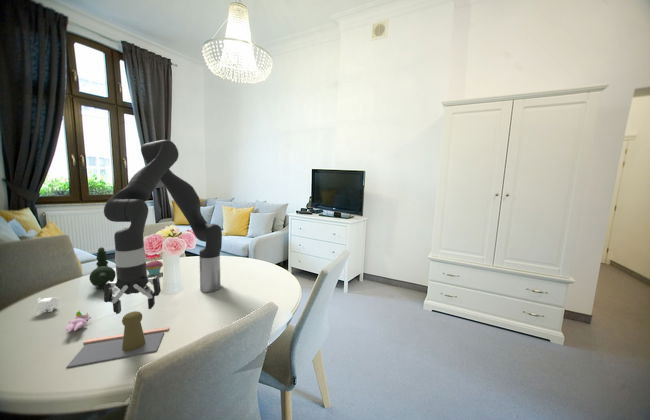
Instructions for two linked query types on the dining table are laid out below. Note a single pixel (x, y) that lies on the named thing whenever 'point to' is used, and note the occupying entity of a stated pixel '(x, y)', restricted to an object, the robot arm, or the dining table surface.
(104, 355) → the mat
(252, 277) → the dining table surface
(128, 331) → the cork
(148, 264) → the cupcake
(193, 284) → the dining table surface
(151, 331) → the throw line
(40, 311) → the elephant figurine
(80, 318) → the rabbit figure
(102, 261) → the dark green rounded piece
